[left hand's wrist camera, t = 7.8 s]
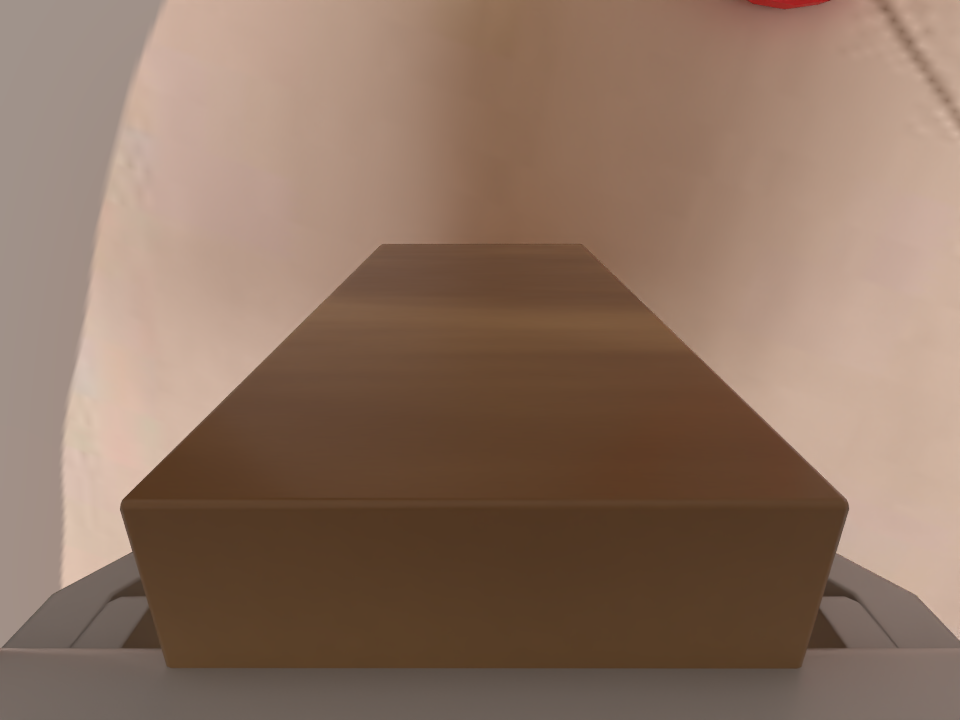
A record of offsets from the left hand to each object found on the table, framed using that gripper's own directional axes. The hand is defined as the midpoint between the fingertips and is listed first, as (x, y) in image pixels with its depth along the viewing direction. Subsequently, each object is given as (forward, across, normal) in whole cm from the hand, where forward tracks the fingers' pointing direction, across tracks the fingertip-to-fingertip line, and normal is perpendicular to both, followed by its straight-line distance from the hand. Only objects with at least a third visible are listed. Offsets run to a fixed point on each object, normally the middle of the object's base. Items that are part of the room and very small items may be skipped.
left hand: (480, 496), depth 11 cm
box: (+8, 0, +10) cm, 12 cm away
